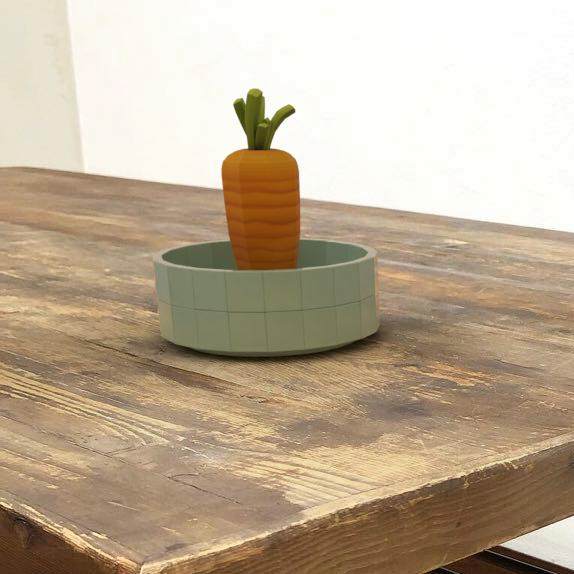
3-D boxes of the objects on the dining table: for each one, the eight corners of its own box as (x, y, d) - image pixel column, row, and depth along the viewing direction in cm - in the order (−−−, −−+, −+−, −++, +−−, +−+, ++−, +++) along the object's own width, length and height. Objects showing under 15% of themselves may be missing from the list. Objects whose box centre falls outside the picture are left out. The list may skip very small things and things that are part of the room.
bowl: (134, 361, 76) (123, 270, 74) (191, 314, 89) (184, 236, 87) (366, 362, 76) (362, 272, 74) (389, 316, 89) (386, 238, 87)
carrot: (259, 317, 85) (241, 86, 79) (323, 323, 83) (310, 87, 78) (218, 332, 81) (197, 88, 75) (285, 338, 79) (268, 89, 74)
